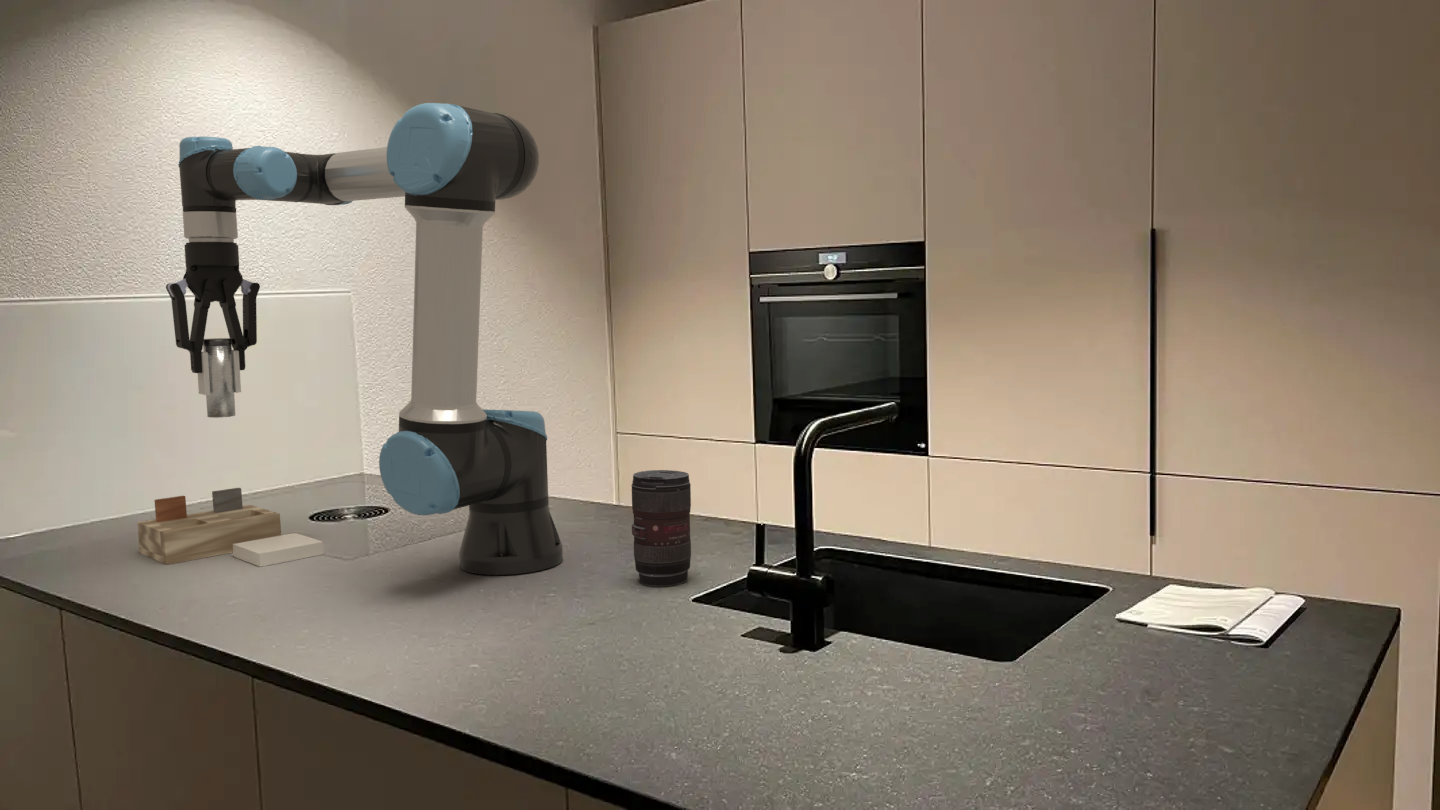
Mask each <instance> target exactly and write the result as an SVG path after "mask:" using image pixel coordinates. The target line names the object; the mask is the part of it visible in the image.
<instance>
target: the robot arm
mask: <svg viewBox="0 0 1440 810" xmlns="http://www.w3.org/2000/svg"><path fill="white" fill-rule="evenodd" d="M233 147H234V146H233V143H232V142H231V141H230V139H227V138H224V137H218V136H217V137H216V136H188V137H187V136H186V137H185V138H182V139H181V141H180V142H179V147H178V148H179V161H178V168H179V180H180V191H181V194H180V195H181V205H182V207H181V208H182V221H183V224H182V225H183V237H184V238H185V239H188V242H185V244H184V259H185V262H184V263H185V272H184V273H185V274H184V275H183V277H182V278H183V279H180V280H178V281H175V282H173V283H172V282H170V283H167V284H166V286H165V289H166V291H167V293H168V295H169V297H170V300H171V310H172V317H173V318H172V319H173V320H172V321H173V327H174V337H175V345H176V347H177V348H179V349H182V350H187V351H188V352H189V354H190V355H189V356H190V357H189V358H190V371H191V372H192V373H193V374H197V385H198V386H197V387H198V395H204V396H206V395H210V381H209V364H208V352H204V351H203V342H204V339H205V334H206V327H207V322H208V321H207V320H208V314H209V310H210V307H211V303H214V302H217V303H218V304H219V307H220V308H221V310H222V314H223V318H224V321H225V325H226V329H227V333H228V336H229V337H228V338H231V346H232V364H233V381H234V394H235V393H242V387H241V371H245V369H246V353H245V351H246V350H247V349H248V348H249V347H252V346H255V345H256V344H257V342H258V339H257V337H258V335H257V333H258V332H257V326H258V325H257V319H258V317H257V297H258V294H259V291H260V287H261V285H260V283H259V282H252V281H249V280H247V279H244V278H243V275H242V273H241V271H240V255H239V253H240V252H239V245H238V243H237V242H235V240H236V239H237V238H238V237H239V231H238V222H237V221H238V220H237V208H236V207H237V206H236V205H237V204H236V203H237V202H236V201H257V200H258V201H270V202H285V203H286V202H287V203H288V202H289V203H305V204H307V203H308V204H320V205H325V206H341V205H349V204H350V203H352V202H354V201H365V200H367V201H369V200H380V199H391V198H392V199H393V198H401V197H402V198H404V209H405V210H406V211H407V212H408V213H409V214H410V216H411V217H412V218H413V219H414V221H415V250H414V251H415V252H414V253H415V254H414V260H415V261H414V289H413V290H414V291H413V319H412V320H413V322H412V323H413V324H412V325H413V327H412V357H411V358H412V359H411V360H412V362H411V363H412V364H411V398H410V401H409V402H408V403H407V404H406V405H405V406H404V407H403V408H402V409H401V410H400V411H399V413H398V431H397V432H396V433H394V434H392V435H391V436H390V437H388V438H387V439H386V442H385V443H383V444H382V447H381V448H380V453H379V457H378V467H379V468H378V469H379V474H380V478H381V481H382V484H383V486H384V488H385V490H386V492H387V493H388V494H389V495H391V497H392V499H393V501H394V503H396V504H397V506H399V507H400V508H402V509H403V510H404V511H406V512H409V513H410V514H413V515H416V516H423V517H424V516H431V515H436V514H438V515H442V514H447V513H450V512H452V511H453V510H457V509H461V508H464V507H465V508H466V507H468V518H467V523H466V526H465V529H464V533H463V537H462V541H461V546H460V548H459V552H458V556H459V558H458V559H459V567H460V568H461V570H463V571H464V572H468V573H472V574H478V575H488V576H489V575H490V576H495V575H496V576H498V575H499V576H501V575H504V576H505V575H519V574H527V573H533V572H538V571H543V570H546V569H549V568H553V567H555V566H557V565H560V563H561V562H563V560H564V558H563V557H564V556H563V543H562V541H561V539H560V535H559V533H558V530H557V527H556V524H555V522H554V520H553V517H552V514H551V511H550V507H549V503H550V502H549V500H550V499H549V479H548V478H549V477H548V475H549V474H548V453H547V452H548V451H547V447H548V446H547V441H548V435H547V433H546V422H545V419H544V417H543V415H542V414H541V413H540V412H538V411H534V410H513V409H512V410H508V409H506V410H505V409H484V408H483V409H482V408H481V407H480V405H479V404H478V403H477V394H478V393H477V392H478V391H477V389H478V388H477V387H478V367H479V366H478V364H479V363H478V362H479V360H478V359H479V340H480V339H479V335H480V334H479V333H480V308H481V307H480V306H481V287H482V286H481V284H482V283H481V282H482V280H481V279H482V262H483V261H482V259H483V256H482V254H483V231H484V229H483V228H484V226H485V224H486V223H487V222H488V221H489V220H490V219H491V218H492V217H494V215H495V214H496V201H497V200H506V199H511V198H513V197H516V196H519V195H520V194H522V193H523V192H525V191H526V190H527V188H529V187H530V186H531V185H532V183H533V181H534V180H535V177H536V176H537V172H538V170H539V164H540V153H539V149H538V145H537V143H536V140H535V138H534V136H533V135H532V133H531V130H529V129H528V128H527V127H526V126H525V125H524V124H523V123H521V122H520V121H519V120H517V119H515V118H513V117H511V116H510V115H506V114H502V113H499V112H498V113H497V112H490V111H485V110H480V109H476V108H471V107H467V106H462V105H457V104H453V103H447V102H446V103H439V102H426V103H425V102H424V103H420V104H417V105H414V106H413V107H411V108H409V109H408V110H407V111H406V112H404V114H403V116H402V117H401V118H399V119H398V120H397V121H396V123H395V124H394V126H393V127H392V130H391V132H390V134H389V137H388V141H387V146H385V147H376V148H369V149H368V148H367V149H359V150H350V151H342V152H341V151H340V152H337V153H336V152H335V153H326V154H310V153H309V154H308V153H301V152H300V153H299V152H293V151H284V150H282V149H281V148H279V147H276V146H261V145H254V146H252V147H246V148H245V147H244V148H236V149H233ZM187 288H188V289H189V291H190V292H191V293H192V294H193V296H194V302H193V306H194V308H193V309H194V310H193V317H192V323H191V328H190V329H191V330H190V331H189V323H188V312H187V303H186V297H185V295H186V294H187ZM239 288H240V291H241V293H242V327H241V323H240V320H239V316H238V312H237V308H236V307H237V302H236V300H235V294H236V292H237V291H238V290H239ZM189 332H190V333H189Z"/></svg>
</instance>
